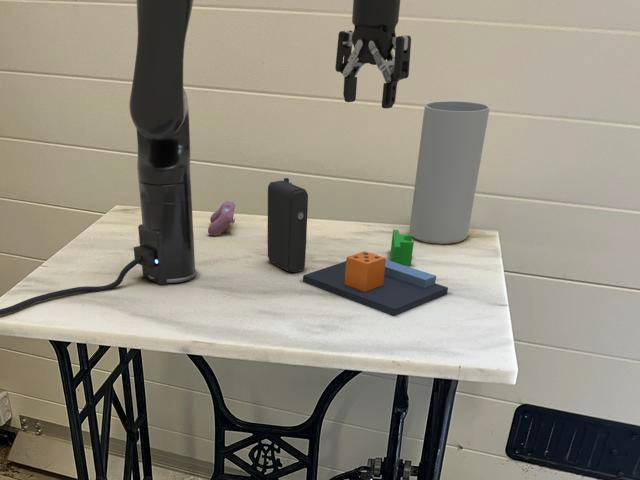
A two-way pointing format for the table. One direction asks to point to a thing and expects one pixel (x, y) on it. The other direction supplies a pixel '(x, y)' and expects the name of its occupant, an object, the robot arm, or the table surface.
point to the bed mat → (382, 287)
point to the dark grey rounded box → (287, 225)
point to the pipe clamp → (401, 248)
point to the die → (365, 271)
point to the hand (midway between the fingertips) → (368, 104)
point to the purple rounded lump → (222, 218)
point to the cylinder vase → (447, 170)
